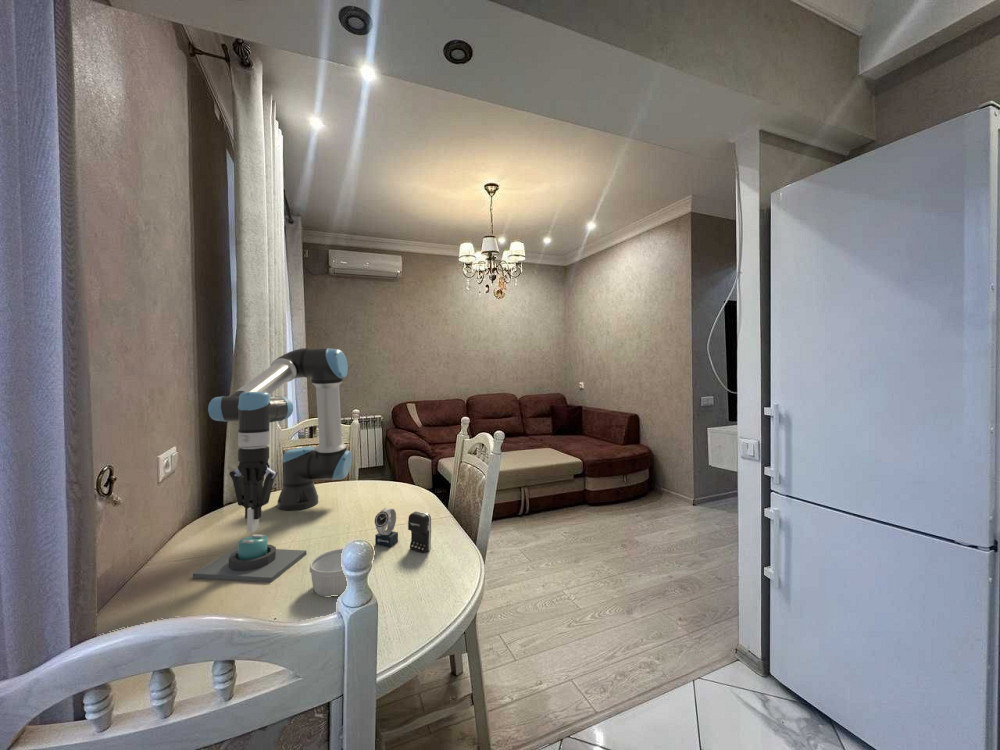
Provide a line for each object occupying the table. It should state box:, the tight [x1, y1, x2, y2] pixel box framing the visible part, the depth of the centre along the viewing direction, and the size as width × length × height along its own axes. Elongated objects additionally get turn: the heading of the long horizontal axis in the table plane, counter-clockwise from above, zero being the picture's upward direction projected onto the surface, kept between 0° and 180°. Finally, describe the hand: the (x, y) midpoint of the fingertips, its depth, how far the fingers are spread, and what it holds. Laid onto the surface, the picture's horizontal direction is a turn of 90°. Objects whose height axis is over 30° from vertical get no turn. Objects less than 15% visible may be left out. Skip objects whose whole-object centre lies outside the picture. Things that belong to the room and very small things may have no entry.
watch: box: [374, 507, 399, 548], centre depth 127 cm, size 6×8×11 cm
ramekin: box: [309, 548, 347, 597], centre depth 102 cm, size 13×13×7 cm
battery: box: [407, 510, 432, 554], centre depth 123 cm, size 7×4×11 cm, turn 60°
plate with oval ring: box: [191, 543, 307, 583], centre depth 112 cm, size 16×22×4 cm
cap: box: [237, 533, 268, 560], centre depth 112 cm, size 7×7×7 cm
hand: (253, 530), depth 112 cm, fingers closed
